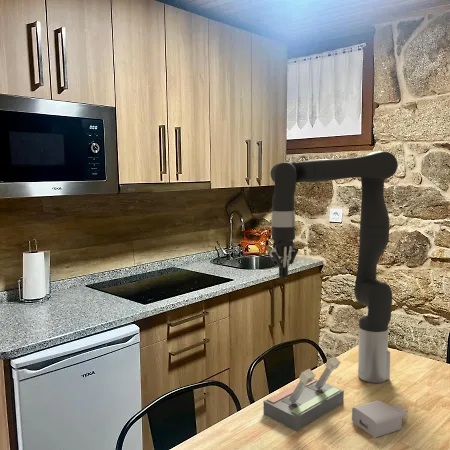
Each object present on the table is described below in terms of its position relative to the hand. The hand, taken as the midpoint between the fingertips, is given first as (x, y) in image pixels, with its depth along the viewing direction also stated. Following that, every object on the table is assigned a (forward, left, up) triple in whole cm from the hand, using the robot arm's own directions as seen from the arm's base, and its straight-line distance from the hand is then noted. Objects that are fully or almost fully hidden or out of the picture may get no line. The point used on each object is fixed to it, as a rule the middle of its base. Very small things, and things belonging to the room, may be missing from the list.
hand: (283, 278), depth 142 cm
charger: (-18, +30, -36) cm, 50 cm away
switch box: (0, +18, -35) cm, 39 cm away
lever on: (-5, +15, -31) cm, 35 cm away
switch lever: (+5, +21, -31) cm, 38 cm away
